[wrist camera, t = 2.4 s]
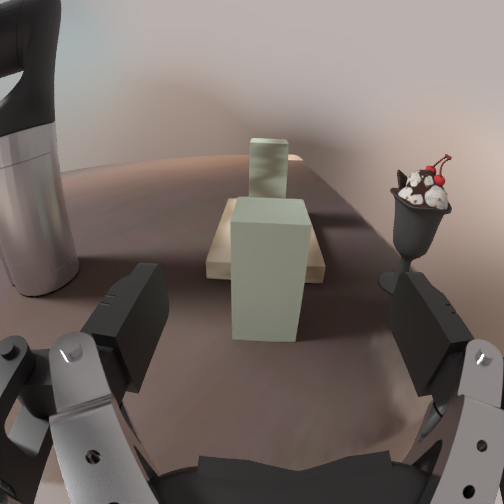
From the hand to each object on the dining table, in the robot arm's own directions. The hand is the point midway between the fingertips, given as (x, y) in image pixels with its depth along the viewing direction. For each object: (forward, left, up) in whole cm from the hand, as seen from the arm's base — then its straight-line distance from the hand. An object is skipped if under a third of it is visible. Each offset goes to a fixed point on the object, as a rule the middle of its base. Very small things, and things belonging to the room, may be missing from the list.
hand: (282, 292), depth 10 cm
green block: (0, +11, -11) cm, 16 cm away
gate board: (0, +27, -11) cm, 30 cm away
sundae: (+15, +17, -11) cm, 26 cm away
